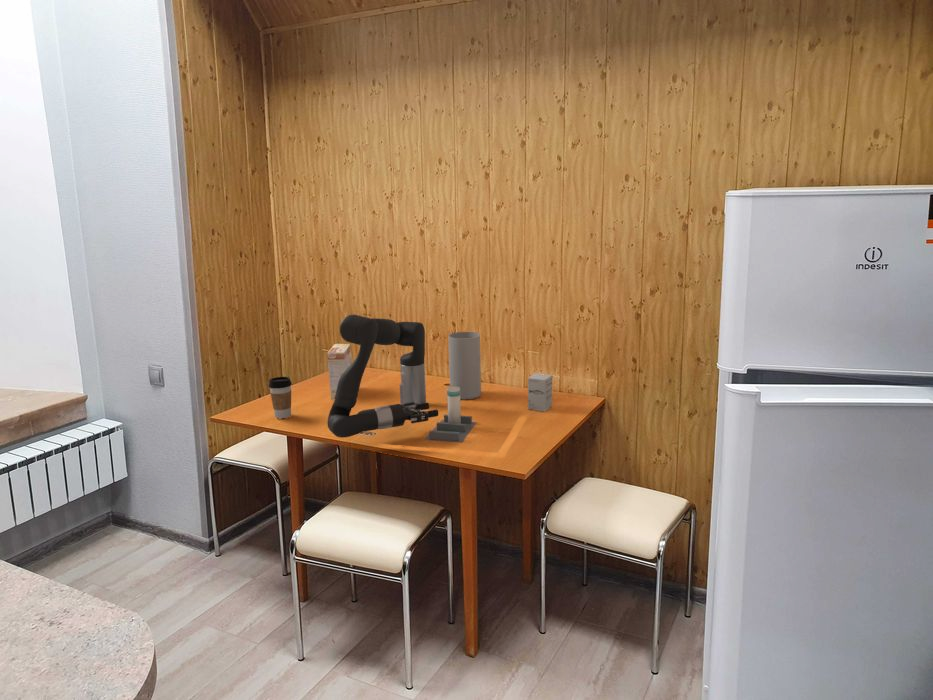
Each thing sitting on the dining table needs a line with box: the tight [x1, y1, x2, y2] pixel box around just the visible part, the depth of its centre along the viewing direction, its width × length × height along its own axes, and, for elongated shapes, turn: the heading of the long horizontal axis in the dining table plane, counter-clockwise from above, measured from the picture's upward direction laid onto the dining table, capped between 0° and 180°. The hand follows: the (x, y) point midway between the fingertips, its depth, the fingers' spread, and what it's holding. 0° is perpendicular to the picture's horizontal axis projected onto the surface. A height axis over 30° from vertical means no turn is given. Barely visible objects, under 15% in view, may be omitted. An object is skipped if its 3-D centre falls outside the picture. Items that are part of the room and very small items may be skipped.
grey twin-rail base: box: [423, 413, 478, 443], centre depth 250 cm, size 13×20×4 cm, turn 165°
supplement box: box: [527, 372, 553, 412], centre depth 274 cm, size 7×7×13 cm
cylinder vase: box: [447, 331, 482, 401], centre depth 290 cm, size 12×12×25 cm
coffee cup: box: [268, 376, 292, 419], centre depth 272 cm, size 8×8×15 cm
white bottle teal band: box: [446, 386, 462, 424], centre depth 252 cm, size 5×5×14 cm
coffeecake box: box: [326, 343, 353, 400], centre depth 298 cm, size 15×7×20 cm, turn 178°
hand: (433, 409), depth 249 cm, fingers open, 8 cm apart
